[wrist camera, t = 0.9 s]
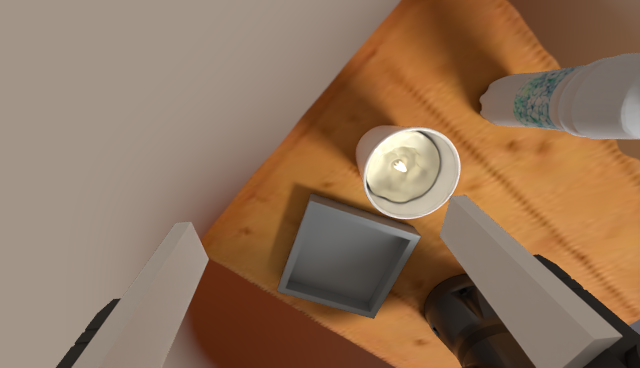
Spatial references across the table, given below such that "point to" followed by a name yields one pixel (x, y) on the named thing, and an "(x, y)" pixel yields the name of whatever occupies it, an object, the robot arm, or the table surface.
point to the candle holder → (407, 169)
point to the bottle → (571, 99)
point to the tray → (346, 256)
